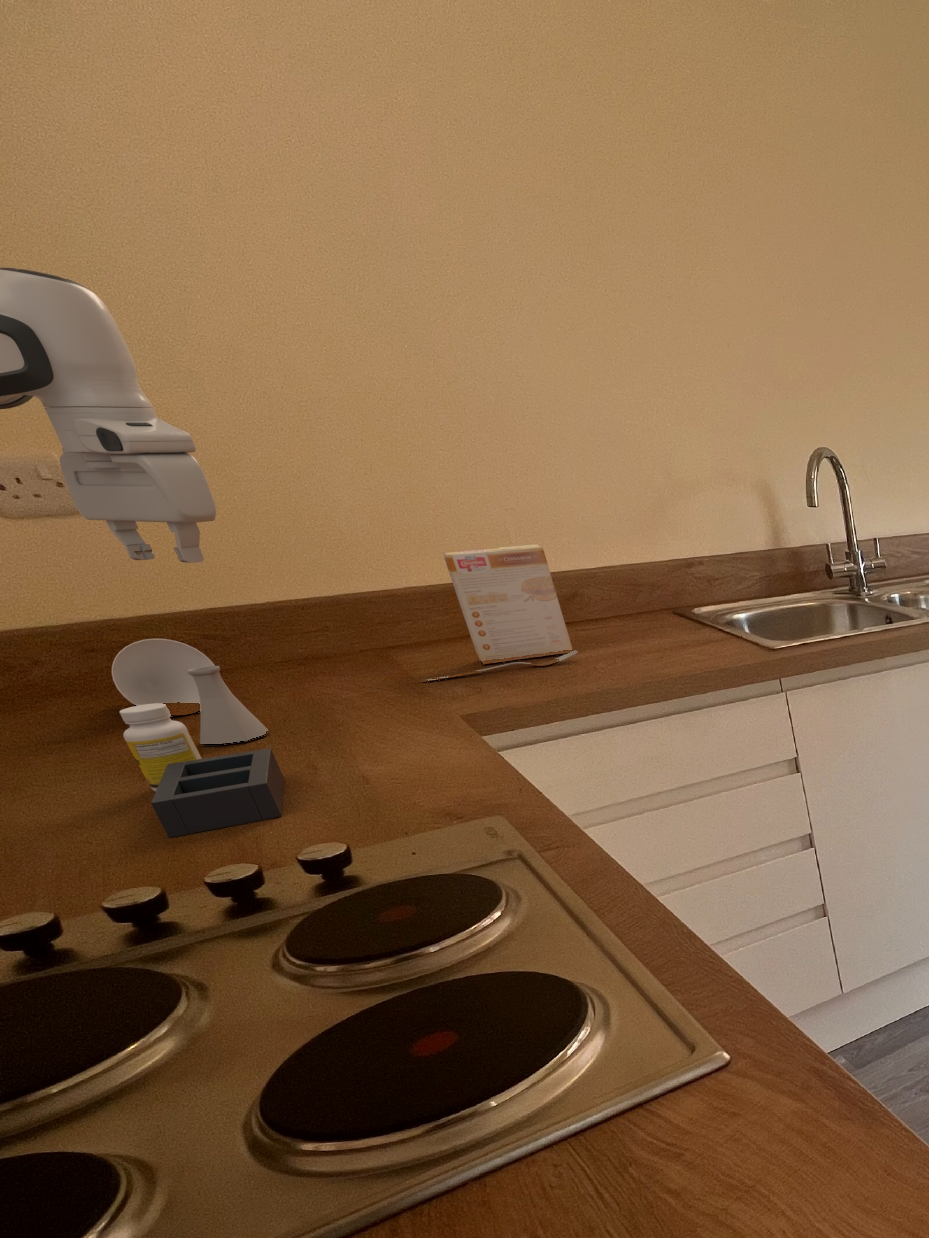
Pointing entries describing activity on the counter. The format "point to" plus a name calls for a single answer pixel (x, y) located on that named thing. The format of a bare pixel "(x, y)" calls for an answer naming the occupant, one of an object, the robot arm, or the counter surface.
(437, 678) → the fork
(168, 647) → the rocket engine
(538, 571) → the coffeecake box
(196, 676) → the flask
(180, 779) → the holder
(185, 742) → the supplement bottle
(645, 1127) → the counter surface
